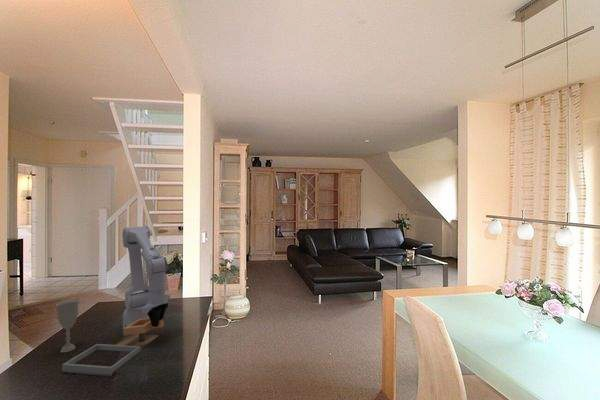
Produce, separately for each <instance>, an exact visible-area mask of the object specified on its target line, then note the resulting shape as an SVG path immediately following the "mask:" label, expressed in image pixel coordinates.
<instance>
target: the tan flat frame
mask: <svg viewBox="0 0 600 400" xmlns="http://www.w3.org/2000/svg"><path fill="white" fill-rule="evenodd" d="M143 324H144V325H143ZM163 327H165V322H164V318H163V319H159V324H158V326H157V327H152V324H151V321H150V318H143V319H138V320H136V321H135V322H133V323H131V324H130V325H128V326H126V327H125V328H123V327H122V334H123V336H129V335H132V334H141V333H145V334H147V332H149V331H151V330H153V329H162V328H163Z"/></svg>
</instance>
